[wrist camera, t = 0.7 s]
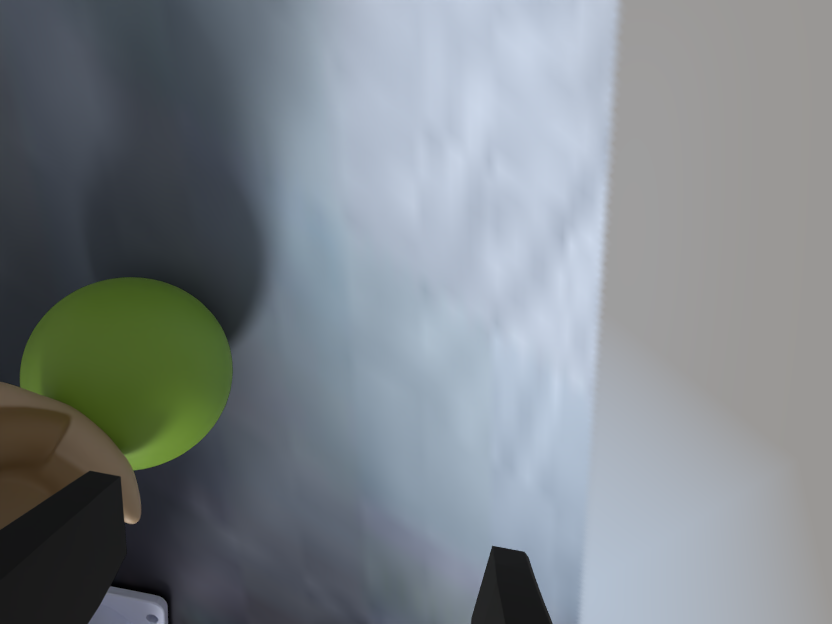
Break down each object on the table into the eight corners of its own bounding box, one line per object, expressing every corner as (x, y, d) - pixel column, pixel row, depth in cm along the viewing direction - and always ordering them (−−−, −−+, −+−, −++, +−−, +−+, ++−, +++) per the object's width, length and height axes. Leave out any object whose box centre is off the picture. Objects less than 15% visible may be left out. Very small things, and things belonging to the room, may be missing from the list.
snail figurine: (135, 189, 18) (-381, 448, 7) (291, 340, 20) (64, 731, 9) (37, 295, 20) (-486, 627, 9) (187, 425, 22) (-103, 831, 11)
